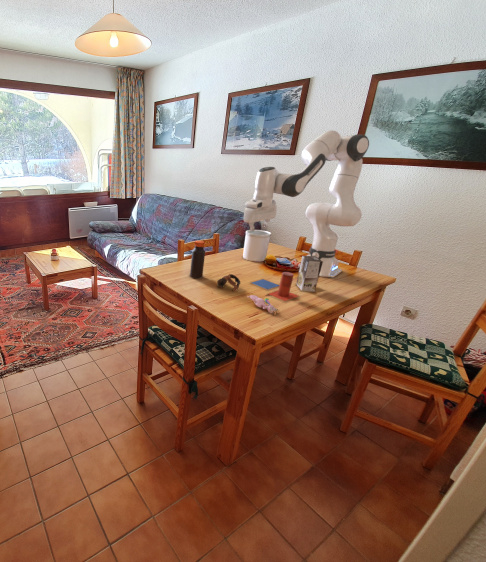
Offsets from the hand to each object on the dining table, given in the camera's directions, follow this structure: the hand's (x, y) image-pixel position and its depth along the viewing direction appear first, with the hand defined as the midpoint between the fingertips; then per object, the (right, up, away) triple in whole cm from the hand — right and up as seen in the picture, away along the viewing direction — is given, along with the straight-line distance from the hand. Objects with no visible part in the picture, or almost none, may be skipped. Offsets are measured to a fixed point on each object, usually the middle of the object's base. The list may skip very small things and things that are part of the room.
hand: (258, 229), depth 159 cm
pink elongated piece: (-8, -39, -21) cm, 45 cm away
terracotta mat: (+8, -34, -10) cm, 36 cm away
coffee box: (+23, -31, -1) cm, 39 cm away
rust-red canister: (+8, -33, -10) cm, 36 cm away
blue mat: (+5, -29, +3) cm, 29 cm away
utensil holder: (+16, -12, +43) cm, 47 cm away
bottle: (-29, -24, +14) cm, 40 cm away
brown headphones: (-17, -31, -1) cm, 35 cm away
